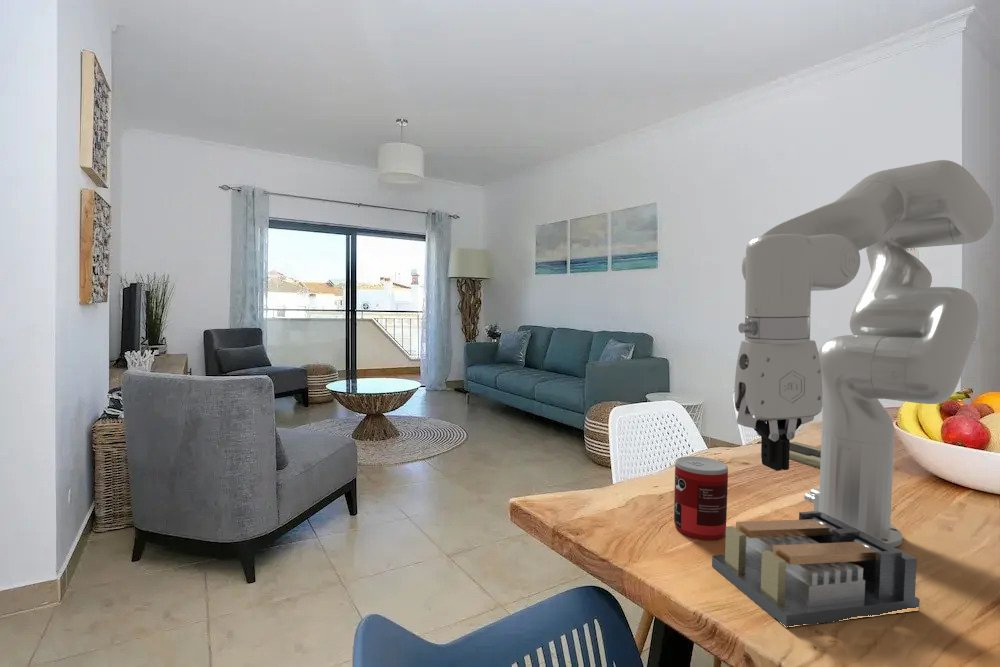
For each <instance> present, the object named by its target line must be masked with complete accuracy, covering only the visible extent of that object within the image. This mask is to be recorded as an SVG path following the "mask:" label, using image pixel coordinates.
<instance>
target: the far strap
mask: <svg viewBox="0 0 1000 667" xmlns="http://www.w3.org/2000/svg"><path fill="white" fill-rule="evenodd" d="M735 528H736V529H738V530H739V531H741V532H742V533H744V534H745V535H746V536H747V537H748V538H768V537H793V536H818V535H831V536H832V530H833V529H837V528H835V527H833V526H831V525H829V524H827V523H825V522H823V521H821V520H819V519H817V518H815V517H812V518H811V519H805V520H799V519H782V520H781V519H780V520H777V519H776V520H755V521H754V520H752V521H751V520H750V521H736V522H735Z"/></svg>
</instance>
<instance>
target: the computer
mask: <svg viewBox="0 0 1000 667" xmlns="http://www.w3.org/2000/svg"><path fill="white" fill-rule="evenodd" d="M789 460H791V461H794V460H795V462H797V461H798V462H797V463H800V462H801V463H800V464H803V463H804V464H803V465H808V466H809V467H810V466H811V467H813V466H814V467H813V468H816V467H818V468H817V469H819V468H820V462H821V447H817V446H812V445H809V444H805V443H802V442H797V441H790V447H789Z"/></svg>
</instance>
